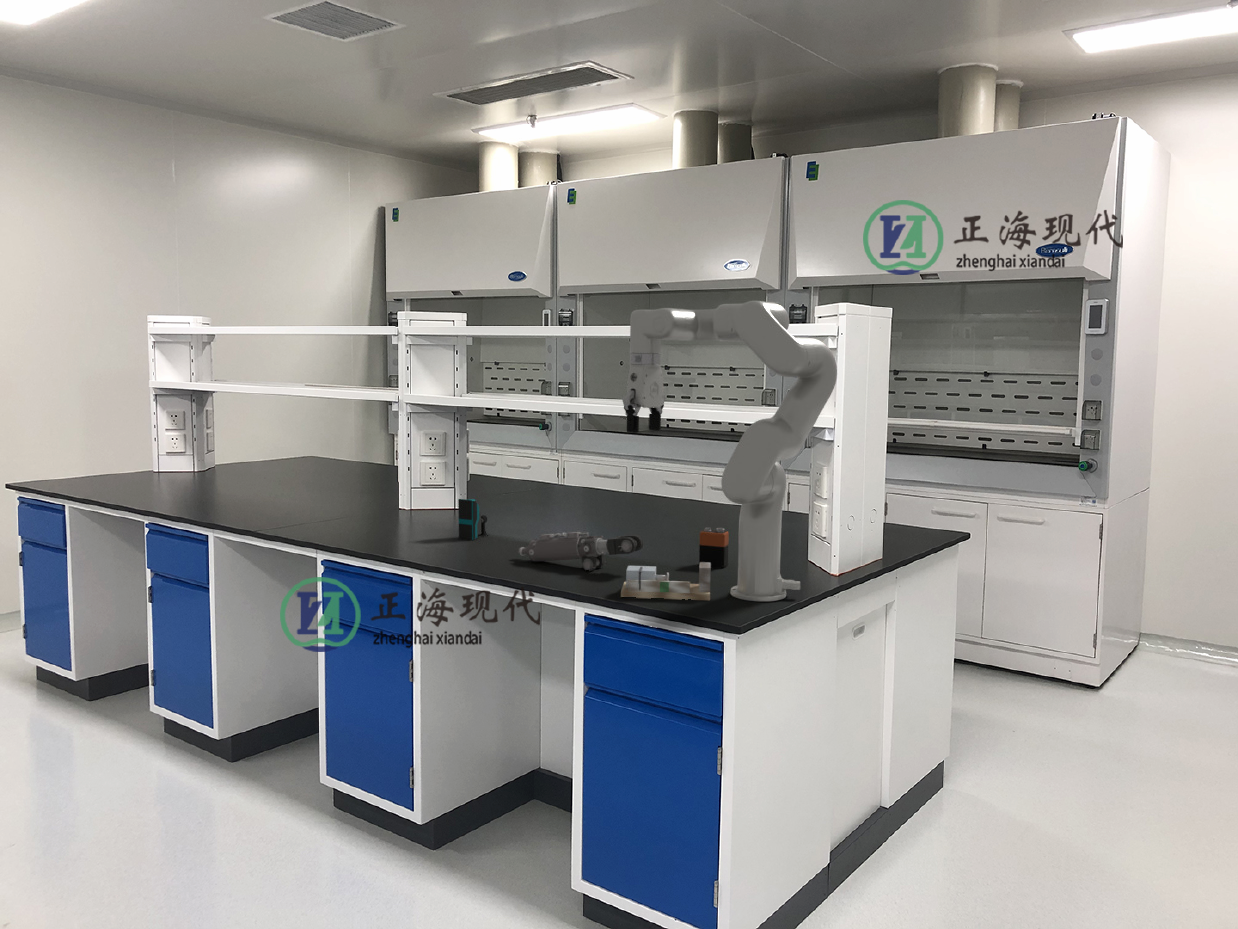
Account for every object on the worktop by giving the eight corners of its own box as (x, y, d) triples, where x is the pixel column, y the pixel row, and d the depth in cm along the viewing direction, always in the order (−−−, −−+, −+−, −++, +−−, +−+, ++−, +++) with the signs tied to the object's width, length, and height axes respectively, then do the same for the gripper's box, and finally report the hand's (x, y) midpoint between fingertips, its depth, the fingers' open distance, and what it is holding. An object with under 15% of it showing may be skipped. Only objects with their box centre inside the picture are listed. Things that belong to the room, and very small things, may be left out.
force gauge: (668, 583, 217) (669, 565, 216) (667, 592, 209) (667, 572, 208) (628, 582, 217) (628, 564, 217) (625, 590, 210) (625, 571, 209)
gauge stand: (709, 590, 218) (710, 561, 217) (709, 600, 209) (710, 569, 208) (624, 587, 220) (624, 558, 219) (620, 597, 211) (621, 567, 210)
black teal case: (493, 496, 282) (472, 500, 274) (493, 535, 284) (472, 541, 275) (478, 494, 285) (457, 498, 276) (478, 533, 286) (457, 539, 278)
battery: (723, 568, 241) (724, 530, 240) (698, 566, 244) (699, 528, 243) (728, 565, 245) (729, 527, 244) (703, 563, 248) (704, 525, 247)
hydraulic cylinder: (635, 569, 229) (629, 529, 229) (515, 575, 248) (510, 538, 247) (649, 564, 236) (644, 524, 235) (531, 570, 254) (526, 534, 254)
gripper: (638, 361, 218) (636, 434, 220) (676, 361, 232) (675, 430, 234) (611, 360, 222) (610, 432, 224) (651, 360, 237) (650, 428, 239)
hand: (643, 431), depth 229 cm, fingers open, 9 cm apart
